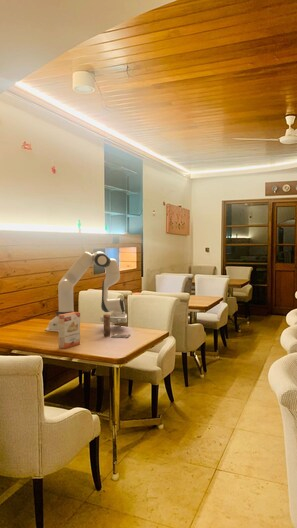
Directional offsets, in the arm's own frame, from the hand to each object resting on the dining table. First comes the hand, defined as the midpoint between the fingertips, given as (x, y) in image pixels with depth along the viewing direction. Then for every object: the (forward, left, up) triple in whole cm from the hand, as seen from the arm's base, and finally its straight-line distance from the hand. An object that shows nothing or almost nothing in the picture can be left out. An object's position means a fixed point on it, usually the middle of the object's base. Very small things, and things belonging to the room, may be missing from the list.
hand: (111, 321), depth 287 cm
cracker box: (-16, -42, -8) cm, 46 cm away
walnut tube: (0, -12, -8) cm, 14 cm away
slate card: (+10, -12, -8) cm, 18 cm away
